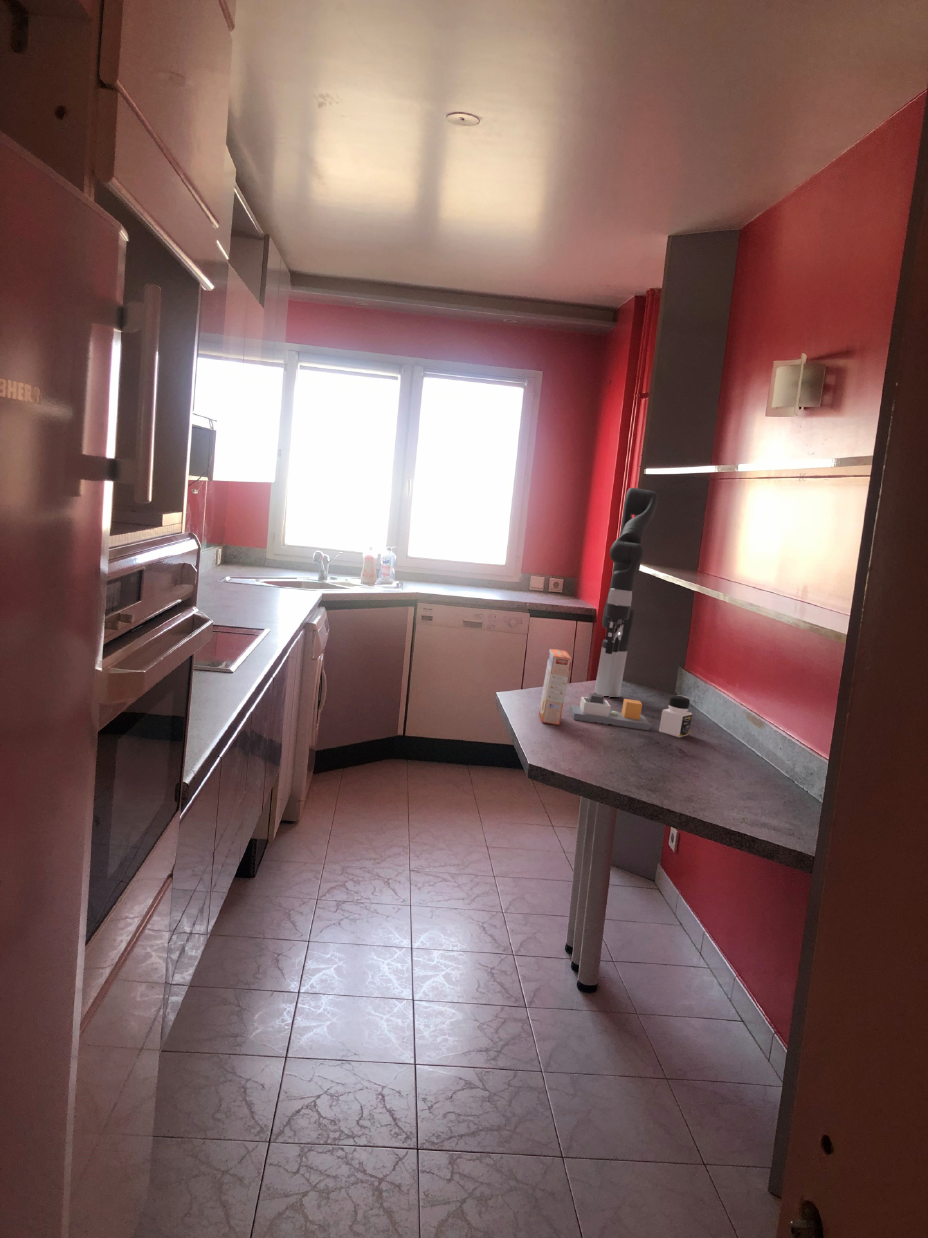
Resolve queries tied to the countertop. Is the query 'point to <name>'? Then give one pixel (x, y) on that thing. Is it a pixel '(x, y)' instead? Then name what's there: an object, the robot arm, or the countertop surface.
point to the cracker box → (554, 686)
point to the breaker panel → (605, 715)
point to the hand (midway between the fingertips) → (611, 652)
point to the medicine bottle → (676, 717)
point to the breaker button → (596, 698)
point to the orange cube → (631, 709)
